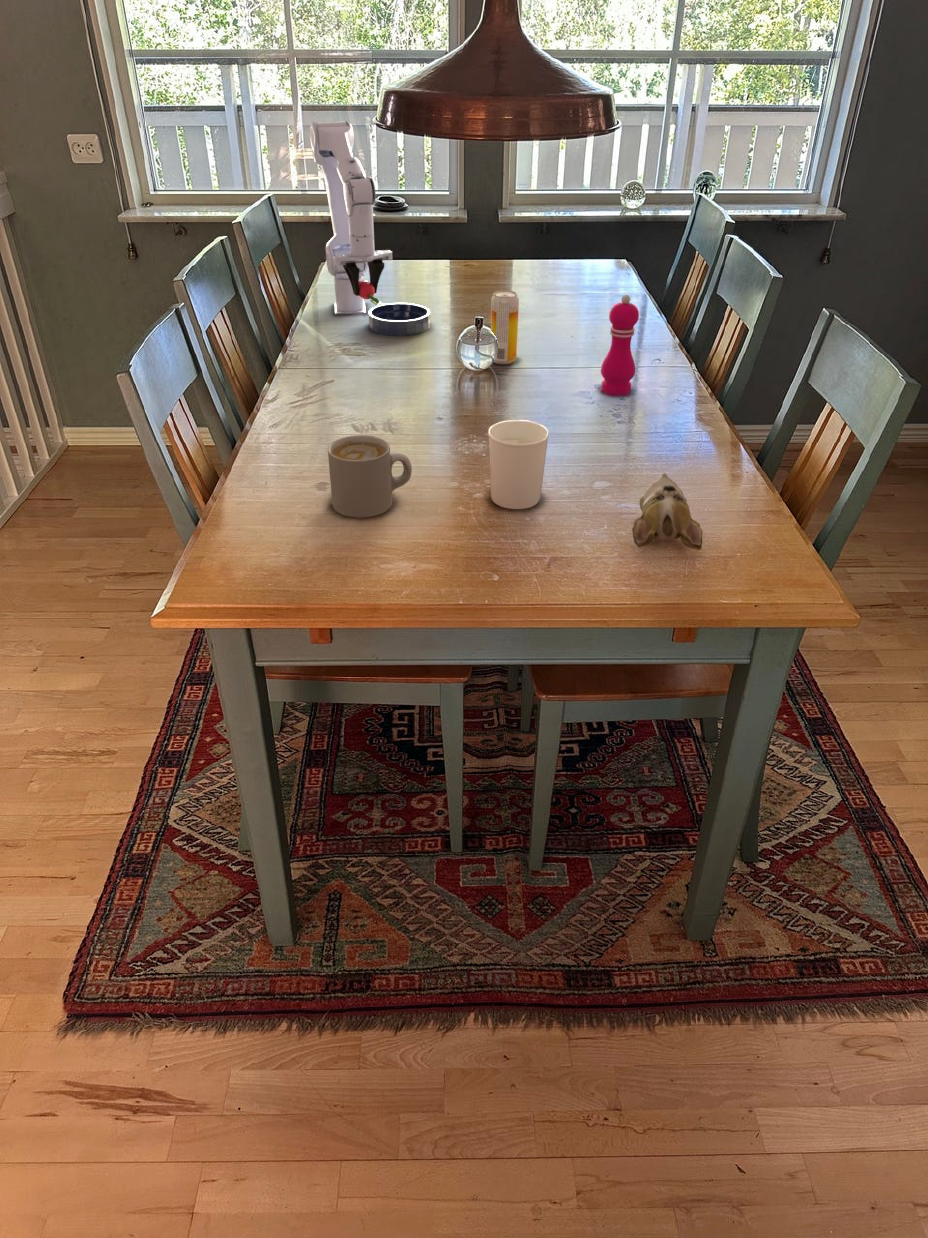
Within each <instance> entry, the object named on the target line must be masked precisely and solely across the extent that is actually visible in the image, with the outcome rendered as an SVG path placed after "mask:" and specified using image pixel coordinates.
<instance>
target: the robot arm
mask: <svg viewBox="0 0 928 1238" xmlns="http://www.w3.org/2000/svg"><path fill="white" fill-rule="evenodd" d="M309 141H310V146H311V152H312V157H313V161H314V163H315V164H317V165H319V166H321V170H322V173H323V177H324V182H325V189H326V194H327V201H328V207H329V213H330V218H331V224H332V230H333V236H332V237H331V238H330V240H328V242H326V244H325V261H326V262H325V263H326V268H327V271H328V273H329V274H330V275H331V277H333V280H334V281H333V282H334V294H335V297H334V298H335V302H334V314H335V315H343V314H344V315H345V314H366V313H367V310H366V302H365V301H364V299H363V298H361V297H360V296H359V281H361V280H363V277H365V273H366V272H367V271H368V274H369V283H371V284H372V285H373V287H374V289H375V293H374V294H378V293H377V291H378V286H379V281H380V278H381V275H382V273H383V271H384V269H385V262H383V261H393V251H391V250H390V249H385V250H384V249H383V250H375V230H374V228H375V227H374V209H373V208H374V207H373V206H374V205H375V204H376V198H377V196H376V195H377V194H376V185H375V182H374V180H373V177H371V176H369V175H366V173H365V170H364V168H363V166H362V164H361V161H360V159H358V158H357V157H355V156H354V155H353V148H354V143H355V134H354V129H353V125H352V123H351V122H350V121H349V120H345V121H325V122H323V121H322V122H316V121H312V122H311V124H310V126H309Z"/></svg>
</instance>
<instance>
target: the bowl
mask: <svg viewBox="0 0 928 1238" xmlns="http://www.w3.org/2000/svg"><path fill="white" fill-rule="evenodd" d="M368 327H369V330H371V331H372V332H373V333H377V334H380V335H383V336H392V337H393V336H394V337H404V336H405V337H406V336H414V335H418V334H421V333H425V332H427V331H428V330H429V329H430V328H431V311H430V309H429V308H427V307H426V306H423V305H420V304H415V303H410V302H409V303H408V302H393V303H384V305H380V306H377V305H376V306H374V307H372V308H370V309H369V310H368Z"/></svg>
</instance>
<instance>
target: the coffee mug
mask: <svg viewBox="0 0 928 1238" xmlns="http://www.w3.org/2000/svg"><path fill="white" fill-rule="evenodd" d="M327 456H328V457H327V458H328V469H329V470H328V471H329V481H330V492H331V493H330V494H331V504H332V508H333V510H334V511H335V512H337V513H338V514H341V515H342V516H345V517H349V518H357V519H358V518H372V517H376V516H379V515H382V514H384V513H385V512H387V511H389V510H390V508H391V507H392V506H393V499H392V494H393V492H394V491H395V490H396V489H399V488H401V487H403V486H404V485H406V484H407V483H408V482H409V481H410V479H411V476H412V471H413V468H412V462H411V460H410V457H409V456H408V455H407V454H406V453H404V452H402V451H401V452H399V451H391V446H390V443H389V442H388V441H386V440H385V439H383V438H380V437H379V436H378V437H377V436H374V435H367V434H358V435H357V434H356V435H349V436H344V437H340V438H337V439H336V440H334V441H332V442H331V443H330V444H329V446H328V447H327ZM396 462H400V463H401V464H402V466H403V470H402V473H401V475H400V476H394V475H393V471H392V469H393V465H394V464H395V463H396Z"/></svg>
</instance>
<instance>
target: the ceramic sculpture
mask: <svg viewBox="0 0 928 1238" xmlns="http://www.w3.org/2000/svg"><path fill="white" fill-rule="evenodd" d="M679 486H680V485H678V483H676V481H674V480H673V479H672V478H670V477H669V476H668V474H667V473H662V474H661V475H660V477H658V478H657V479H656V480H654V481H653V482H652V483H651V484H650V485H649V486H648V487H647V488H646V489H645V491H644V492H643V493H642V495H641V496H640V497H639V508H640V510H641V513H642V514H641V515H640V516H639V517H638V518H636V519H635V520H634V522H633V526H632V529H631V530H632V531H631V532H632V538H633V542H634V544H635V545H636V546H637V547H638V548H642V547H646V546H648V545H650V544H652V543H653V542H654V540H656V541H663V542H673V541H677V540H678V539H680V541H681V543H682V544H683V546H685V547H687V548H689V549H693V550H697V551H701V550H702V546H703V530H702V528H701V524H700V523H699V522H698V521H697V520H695V519H693V518H692V516H691V511H690V506H689V504H688V500H687V498H686V497H685V495H684V492H683V490H682V488H681V487H679Z"/></svg>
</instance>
